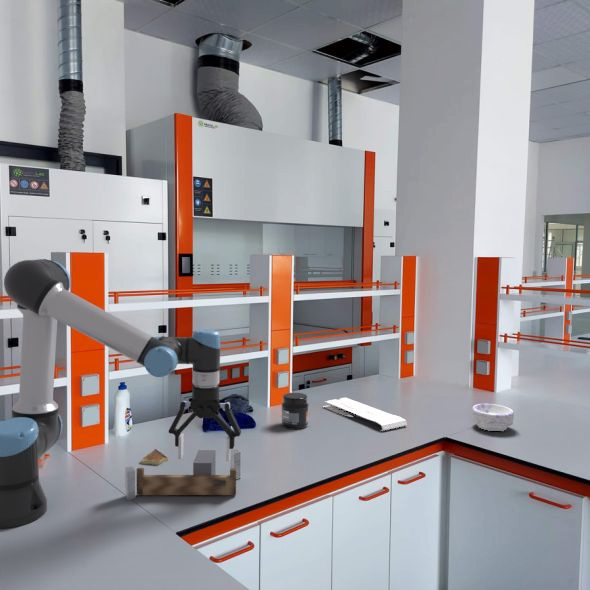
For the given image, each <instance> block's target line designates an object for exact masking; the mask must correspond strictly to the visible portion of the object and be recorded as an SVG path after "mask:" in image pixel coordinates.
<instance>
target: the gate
mask: <svg viewBox="0 0 590 590" xmlns="http://www.w3.org/2000/svg"><path fill="white" fill-rule="evenodd" d="M136 495H137V496H236V495H237V479H236V468H230V467H229V474H215V475H193V474H145V468H144V467H137V468H136Z"/></svg>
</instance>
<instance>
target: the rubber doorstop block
mask: <svg viewBox="0 0 590 590" xmlns="http://www.w3.org/2000/svg"><path fill="white" fill-rule="evenodd" d="M192 466H193V467H192V470H193V471H192V475H216V449H198V451H197V453H196V455H195V458H194V460H193V461H192Z"/></svg>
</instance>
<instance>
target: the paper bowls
mask: <svg viewBox="0 0 590 590" xmlns="http://www.w3.org/2000/svg"><path fill="white" fill-rule="evenodd" d="M471 408H472V409H471V420H472V422H474V423H476V425H477V427H478V428H479V429H480V428H481V430H482V429H484V430H483V431H485V430H489V431H502V432H504V430H505V431H506V430H507V429H508V427H511V426H512V425H514V416H515V415H514V411H513V409H511V408H510V407H507V406H505V405H501V404H494V403H478V404H477V403H476V404H475V405H473V406H472V407H471ZM489 431H488V432H489Z"/></svg>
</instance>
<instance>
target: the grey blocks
mask: <svg viewBox="0 0 590 590" xmlns="http://www.w3.org/2000/svg"><path fill="white" fill-rule="evenodd" d="M229 462H230V467H229V469H230V468H236V480H239V478H240V479H241V451H239V450H238V449H237V448H234V449H231V454H230V460H229ZM124 469H125V471H124V473H125V475H124V479H125V482H124V484H125V486H124V487H125V493H124V494H125V498H126V500H127V501H130V500H136V470H135V467H134V466H133V465H132V466H126V467H124Z"/></svg>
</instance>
